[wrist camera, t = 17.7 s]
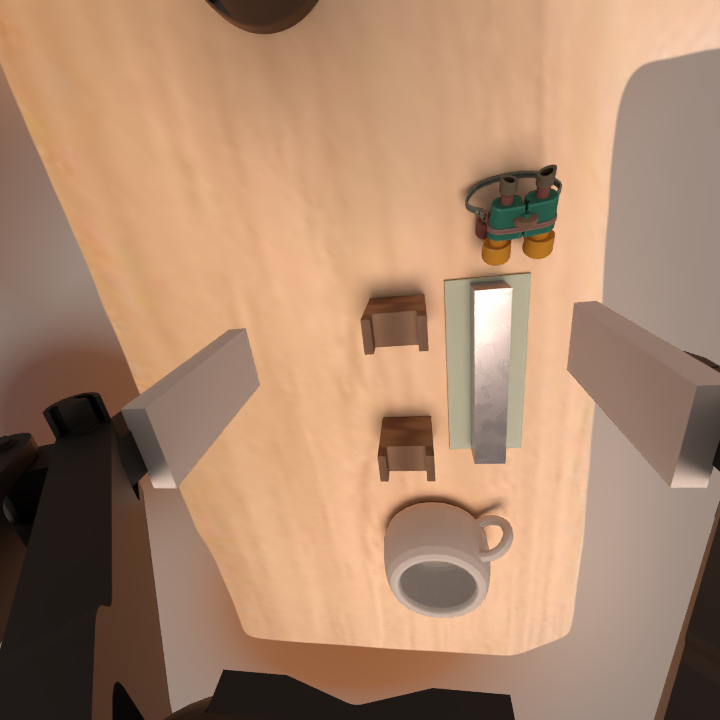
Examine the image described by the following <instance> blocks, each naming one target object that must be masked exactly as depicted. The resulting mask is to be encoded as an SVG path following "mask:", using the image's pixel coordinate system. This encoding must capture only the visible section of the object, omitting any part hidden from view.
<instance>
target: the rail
mask: <svg viewBox="0 0 720 720" xmlns="http://www.w3.org/2000/svg"><path fill="white" fill-rule="evenodd" d="M511 309H512V287H511V286H510V285H509V284H508V283H507V282H506V281H505V280H501V281H489V282H478V283H470V419H471V450H472V454H473V458H474V463H475V464H502V463H505V461H506V435H507V410H508V385H509V360H510V334H511Z"/></svg>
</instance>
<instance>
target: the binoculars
mask: <svg viewBox="0 0 720 720" xmlns="http://www.w3.org/2000/svg"><path fill="white" fill-rule="evenodd" d="M556 170H557V166H556V165H549V166H546V167H544V168H542V169H541V170H539V171H538V172H535V171H521V172H511V173H505V174H501V175H497V176H494V177H491V178H489V179H486V180H484V181H482V182H480V183H478V184H476V185H475V186H474V187H473V188H472V189H471V190H470V191H469V193H468V195H467V196H466V200H465V206H466V209H467V210H468V211H470V212H472V213H475V215H479V217H478V219H477V225H476V231H475V234H476V236H477V237H478V238H480V239H484V241H483V248H482V259H483V260H484V262H486V263H487V264H489V265H492V266H499V265H502V264H504V263H506V262H507V261H508V260H509V258H510V252H511V240H512V239H518V238H521V235H523V237H525V238H524V242H523V247H522V248H523V252H524V253H525V254H526V255H527V256H528V257H530V258H533V259H542V258H545V257H547V256H548V255H549V254H550V253H551V252H552V249H553V243H554V237H555V233H554V231H553V230H552V229H553V228H554V224H555V221H556V218H557V212H556V211H557V205H558V199H559V194H560V192H561V188H562V183H561V182H560V181H559V180H558V179H556V178H555V175H556ZM517 178H537V179H536V186H537V190H535V191H531V192H529V193H528V194H527V195H526V196H525V202H524V204H523V203H522V197H520V196H517V195H514V193H515V192H516V189H517V181H518V179H517ZM498 181H500V188H499V192H500V194H501V197H499V198H496V199H495V200H493V202H492V205H491V212H487V211H486V210H485V209H483V208H479V207H474V206H471V205H469V204H468V201H469V199H470V197H471V196H472V195H473V194H474V193H475V192H476V191H477V190H479V189H480V188H482V187H484V186H487V185H489V184H492V183H495V182H498ZM552 185H555V186H556V187H557V188H558V190H557V191H555V190H554V189H551V186H552Z"/></svg>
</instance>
